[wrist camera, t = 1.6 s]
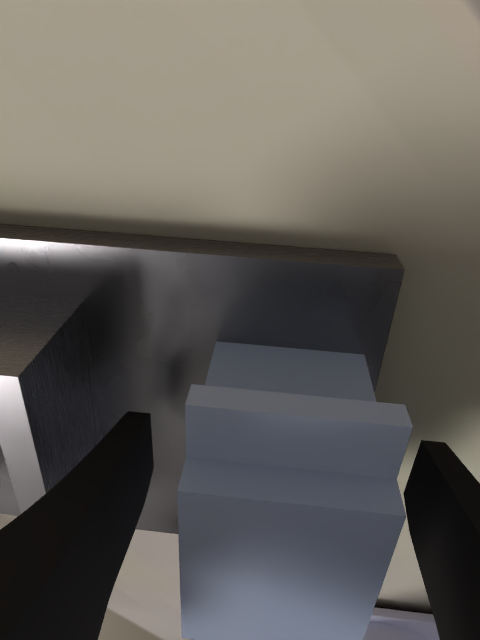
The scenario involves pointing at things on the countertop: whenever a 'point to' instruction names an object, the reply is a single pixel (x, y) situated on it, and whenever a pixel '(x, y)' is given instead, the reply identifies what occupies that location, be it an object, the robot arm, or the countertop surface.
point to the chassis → (155, 338)
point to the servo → (287, 496)
